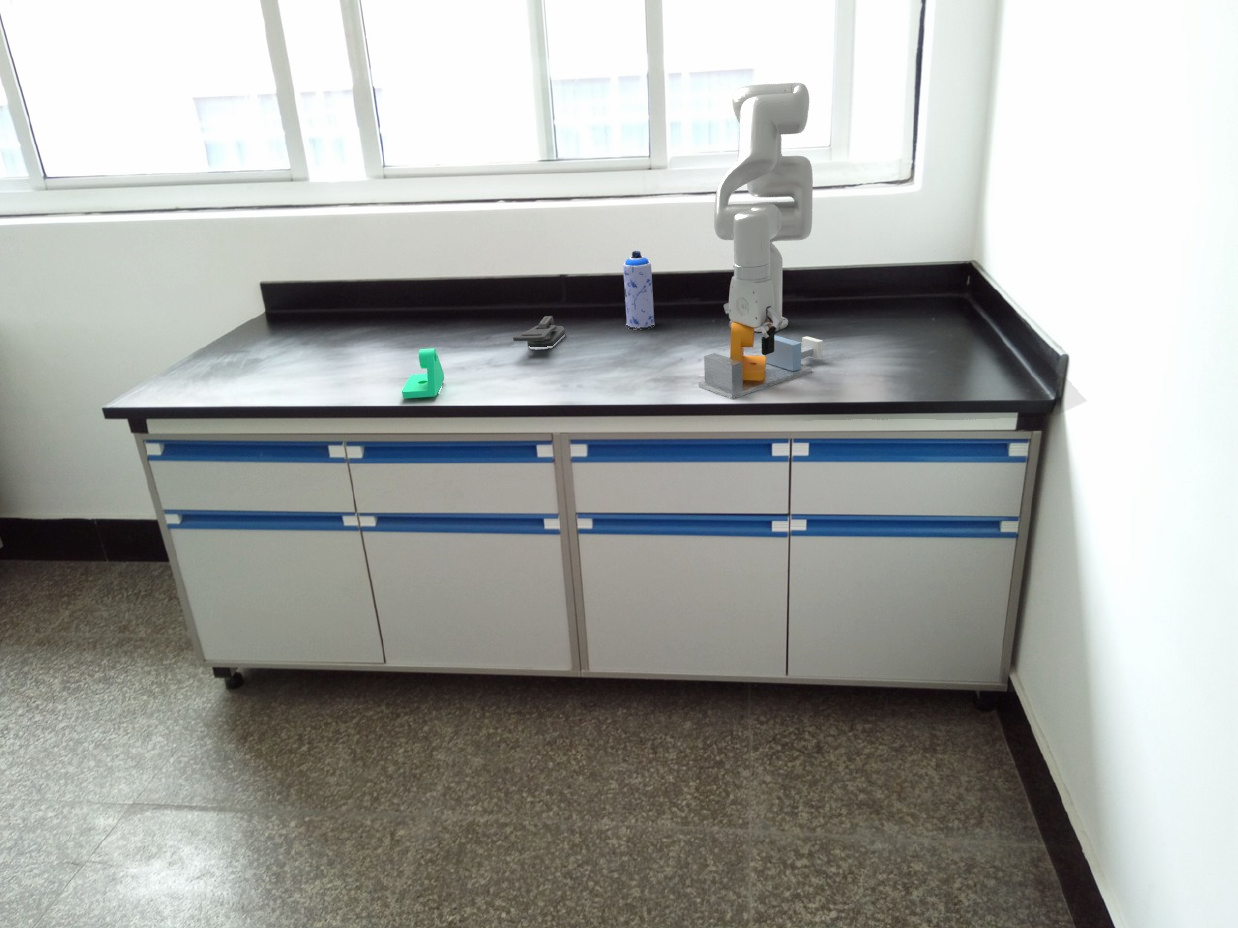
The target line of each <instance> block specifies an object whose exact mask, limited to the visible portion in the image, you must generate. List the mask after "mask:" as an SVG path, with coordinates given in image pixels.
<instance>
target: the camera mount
mask: <svg viewBox="0 0 1238 928" xmlns="http://www.w3.org/2000/svg"><path fill="white" fill-rule="evenodd" d="M418 360H419V361H418V362H419V366H420V368H421V370H422V369H426V373H415V374H411V375H410V376H409V378H408V379H407V381H406V383H405V384H404V386H403V387H402V389H401V394H402V398H403V399H414V398H415V399H417V398H432V397H433V398H434V397H437V396H438V395H437V393H438V392H439V390H440V388H441V386H442V387H443V382H444V381H445V375H444V370H443V367H442V365H441V361H440V358H439V355H438V352H437V349H436V348H424V349H423V348H421V349H419V351H418Z"/></svg>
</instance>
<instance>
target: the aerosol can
mask: <svg viewBox="0 0 1238 928" xmlns="http://www.w3.org/2000/svg"><path fill="white" fill-rule="evenodd" d="M622 267H623V268H622V270H623V282H624V298H625V299H624V302H625V315H626V324H625V326H626V325H628V326H630V327H635V328H636V327H637V328H640V327H648V326H651V325H654V326H655V325H656V323H655V318H654V317H655V316H654V315H655V314H654V313H655V312H654V296H653V295H654V294H653V277H652V275H653V274H652V264H651V261H650V260H649V259H648V258H646V257H645V256H643V255H642V253H641V251H639V250H634V251H633V250H632V252H631V256H630V257H628V258H627V259H626V260H625V261H624V263H623V266H622Z"/></svg>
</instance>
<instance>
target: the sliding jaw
mask: <svg viewBox="0 0 1238 928" xmlns="http://www.w3.org/2000/svg"><path fill="white" fill-rule="evenodd" d="M823 345H824V340H822V339H818V338H815V337H811V336H803V337H802V338H801V342H800V341H796V340H793V339H789V338H785V337H783V336H778V335H777V334H776V335H774V352H773V353H770V354H767V355H764V356H765V357H766V363H769V364H772V365H775V366H778V367H781V368H784V369H788V370H791V371H795V370H798V369H801V364H802V360H803V359H805V358H809V357H810V358H814V359H818V360H819V359H822V358H823V350H824V349H823Z"/></svg>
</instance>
